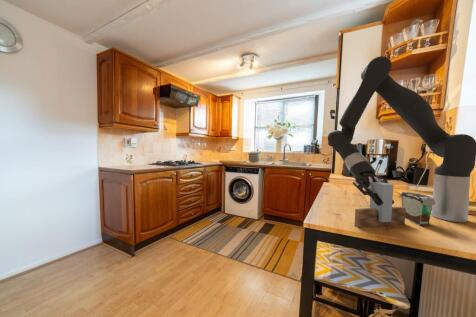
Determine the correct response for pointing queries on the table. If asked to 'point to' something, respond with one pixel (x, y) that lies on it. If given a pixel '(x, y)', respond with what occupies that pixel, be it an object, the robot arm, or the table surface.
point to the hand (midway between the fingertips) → (386, 204)
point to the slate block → (386, 196)
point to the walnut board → (369, 217)
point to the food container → (417, 207)
